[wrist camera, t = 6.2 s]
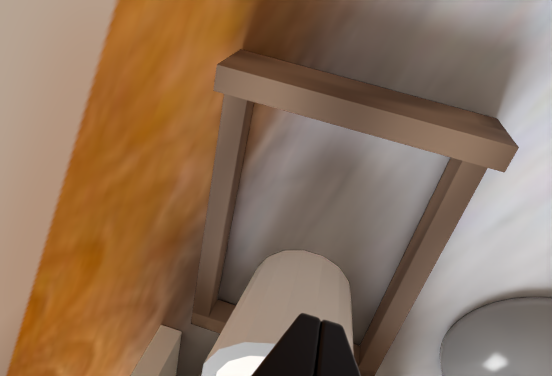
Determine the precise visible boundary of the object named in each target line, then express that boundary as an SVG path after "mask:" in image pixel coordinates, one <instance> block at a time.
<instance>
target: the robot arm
mask: <svg viewBox="0 0 552 376" xmlns="http://www.w3.org/2000/svg"><path fill="white" fill-rule="evenodd" d="M251 376H361V375H360V372H359V369H358V366H357V364H356V361H355V358H354V355H353V353H352V350H351V347H350V344H349V341H348V339H347V336H346V333H345V330H344V328H343V326H342V325H340V324H338V323H334V322H331V321H328V320H322V321H320V319H319V318H318V317H315V316H312V315H309V314H306V313H301V314H299V315H298V317H297V318H296V319H295V320H294V322H293V323H292V324H291V326H290V327H289V328H288V329H287V331H286V332H285V333H284V334H283V336H282V337H281V338H280V340H279V341H278V342H277V343H276V345H275V346H274V347H273V348H272V350H271V351H270V352H269V354H268V355H267V356H266V357H265V359H264V360H263V361H262V362H261V364H260V365H259V366H258V368H257V369H256V370H255V371H254V373H253V374H252V375H251Z"/></svg>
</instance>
